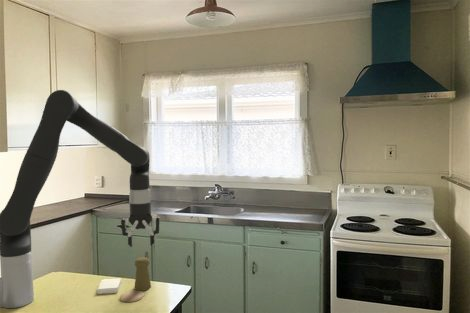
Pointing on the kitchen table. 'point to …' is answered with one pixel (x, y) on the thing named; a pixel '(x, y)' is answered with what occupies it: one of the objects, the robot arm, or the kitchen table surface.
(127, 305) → the kitchen table surface
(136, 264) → the pepper shaker
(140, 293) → the disc
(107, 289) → the tile
